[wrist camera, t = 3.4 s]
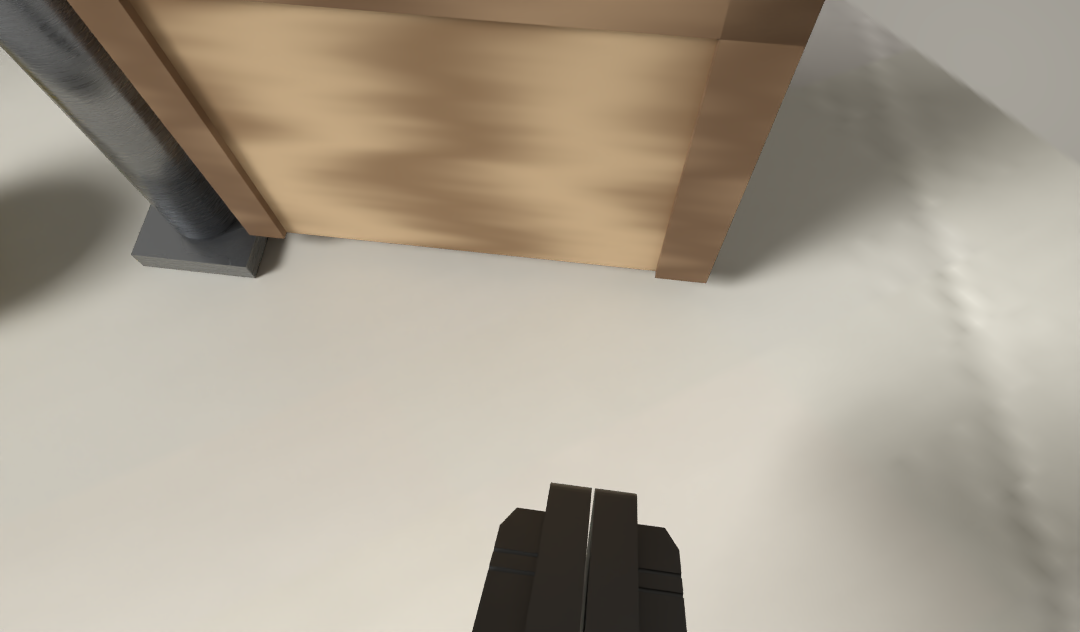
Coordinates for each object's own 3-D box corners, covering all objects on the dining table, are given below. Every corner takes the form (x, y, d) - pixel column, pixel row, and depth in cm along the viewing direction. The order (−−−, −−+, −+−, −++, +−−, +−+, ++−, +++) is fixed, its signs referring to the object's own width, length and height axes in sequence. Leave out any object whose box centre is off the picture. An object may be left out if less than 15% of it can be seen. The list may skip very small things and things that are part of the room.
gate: (249, 234, 24) (15, -67, 14) (266, 184, 25) (56, -137, 15) (705, 283, 23) (827, -5, 13) (708, 228, 24) (824, -85, 13)
